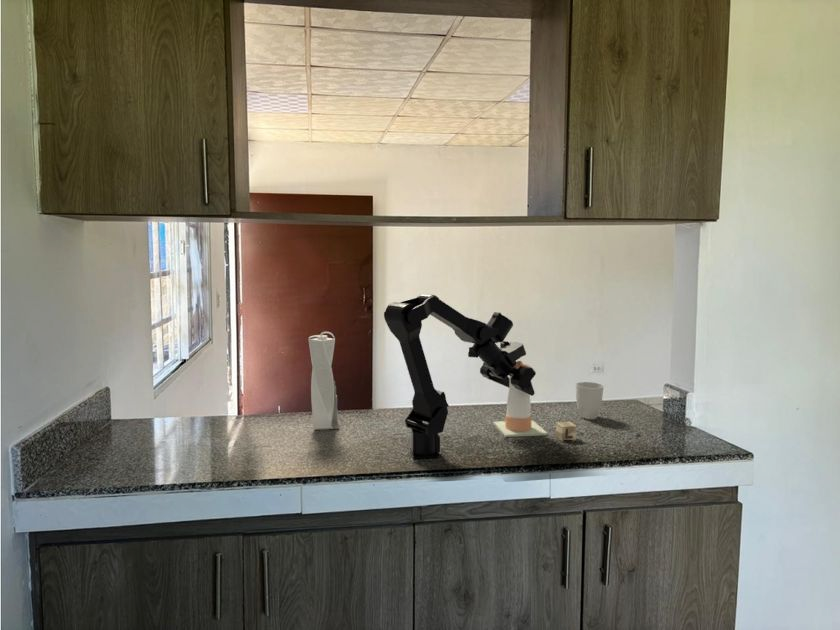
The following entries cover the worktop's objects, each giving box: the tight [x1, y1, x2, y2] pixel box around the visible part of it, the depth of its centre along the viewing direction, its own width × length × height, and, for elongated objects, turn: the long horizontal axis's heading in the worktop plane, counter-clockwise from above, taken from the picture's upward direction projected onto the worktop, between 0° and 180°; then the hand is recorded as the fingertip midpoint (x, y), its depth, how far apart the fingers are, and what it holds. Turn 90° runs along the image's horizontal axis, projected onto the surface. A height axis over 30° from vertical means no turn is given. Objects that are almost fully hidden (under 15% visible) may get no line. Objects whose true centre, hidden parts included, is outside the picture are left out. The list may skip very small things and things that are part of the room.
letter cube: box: [555, 421, 577, 442], centre depth 151 cm, size 4×4×4 cm
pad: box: [492, 419, 549, 438], centre depth 159 cm, size 12×12×1 cm
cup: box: [575, 381, 605, 420], centre depth 171 cm, size 8×8×10 cm
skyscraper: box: [308, 331, 340, 431], centre depth 158 cm, size 8×8×28 cm
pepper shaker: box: [505, 360, 533, 431], centre depth 158 cm, size 7×7×19 cm
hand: (522, 390), depth 158 cm, fingers open, 9 cm apart
